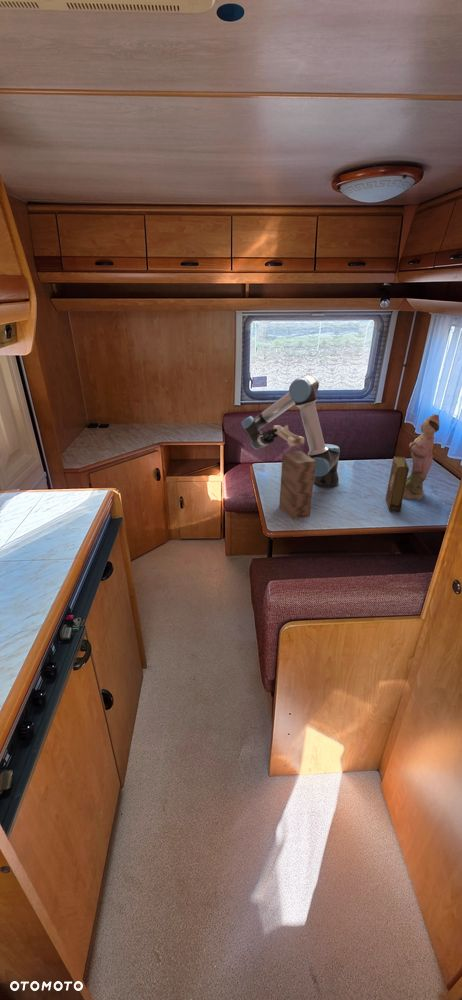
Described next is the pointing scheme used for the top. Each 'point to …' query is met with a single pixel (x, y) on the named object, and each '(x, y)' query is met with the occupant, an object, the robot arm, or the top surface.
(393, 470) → the book
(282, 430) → the birch bar
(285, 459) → the walnut stand
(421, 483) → the statue
